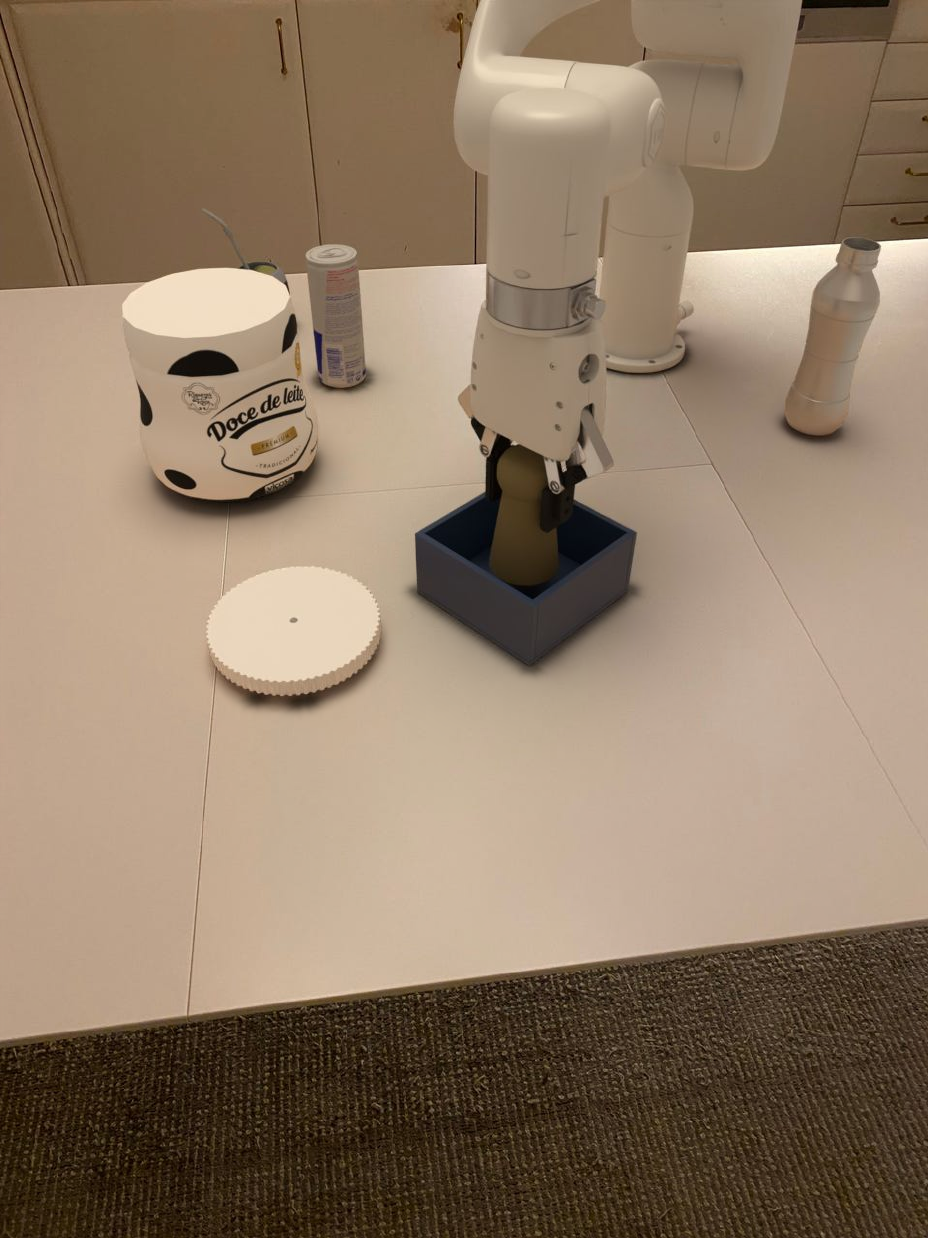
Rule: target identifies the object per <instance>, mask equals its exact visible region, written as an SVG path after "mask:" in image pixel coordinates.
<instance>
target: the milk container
mask: <svg viewBox="0 0 928 1238" xmlns="http://www.w3.org/2000/svg"><path fill="white" fill-rule="evenodd" d="M121 315H122V326H123V332H124V339H125V344H126V348H127V351H128V357H129V361H130V365H131V368H132V372H133V375H134V379H135V382H136V386H137V389H138V394H139V400H140V402H139V403H140V405H139V406H140V407H139V436H140V443H141V446H142V449H143V452H144V455H145V458H146V460H147V462H148V464H149V466H150V468H151V469H152V472H153V473H154V475H155V476H156V477H157V478H158V480H159V481H160V482H161V483H162V484H163V485H165V487H167V488H168V489H169V490H171V491H173V492H175V493H177V494H179V495H181V496H184V497H186V498H190V499H193V500H199V501H207V502H213V503H229V502H246V501H249V500H253V499H256V498H260V497H265V496H268V495H272V494H274V493H276V492H277V491H280V490H282V489H283V488H285V487H287V486H289V485H291V484H293V483H294V482H296V481H297V480H298V479H299V478H301V477H302V475H304V473H305V472H307V470H308V469H309V468H310V467H311V465H312V463H313V460H314V459H315V456H316V454H317V450H318V449H317V448H318V441H319V420H318V414H317V413H318V412H317V408H316V406H315V404H314V401H313V398H312V396H311V394H310V391H309V389H308V387H307V384H306V381H305V379H304V378H305V377H304V374H303V368H302V367H303V366H302V358H301V357H302V356H301V346H300V345H301V344H300V337H299V333H298V324H297V316H296V313H295V309H294V304H293V301H292V298H291V294H290V295H289V293H288V290H287V287H286V285H284V284H283V283H282V282H280V281H279V280H277V279H276V278H274V277H273V276H270V275H266V274H263V273H260V272H256V271H253V270H245V269H238V268H233V267H211V268H209V267H208V268H196V269H191V270H185V271H181V272H180V271H179V272H175V273H170V274H167V275H165V276H162V277H159V278H156V279H152V280H150V281H148V282H146V283H144V284H143V285H141V286H139V287H138V288H136V289H135V290H133V291H131V292H130V293H129V294H128V296H127V297H126V299H125V300H124V301H123V303H122V304H121Z"/></svg>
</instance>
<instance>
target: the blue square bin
mask: <svg viewBox="0 0 928 1238" xmlns="http://www.w3.org/2000/svg"><path fill="white" fill-rule="evenodd" d="M500 501H501V498H499V499H497V500H496V501H493V502H490V501H488V500H487V499H485V491H484V492H481V493H480V494H478V495H477V496H475V497H473V498H472V499H470V500H468V501H467V502H465V503H464V504H462V505H460V506H459V507H457V508H454V509H453V510H452V511H450V512H448V513H447V514H445V515H443V516H442V517H440V518H438V519H437V520H435V521H433V522H431V523H429V524H428V525H427V526H425V527H422V528H421V529H420V530H418V531H416V532H415V533H414V544H415V545H414V548H415V549H414V550H415V570H416V571H415V573H416V593H417V594H419V595H420V596H422V597H424V598H425V599H426V600H428V601H430V602H431V603H433V604H434V605H436V606H437V607H439V608H440V609H441V610H443V611H445V612H446V613H448V614H450V615H451V616H452V617H453V618H455V619H457V620H458V621H460V622H461V623H463V624H465V625H466V626H467V627H468V628H470V629H472V630H473V631H475V632H476V633H478V634H479V635H480V636H483V637H484V638H485V639H487V640H489V641H490V642H491V643H493V644H495V645H496V646H497V647H498V648H500V649H502V650H504V651H505V652H506V653H509V654H510V655H511V656H513V657H514V658H515V659H517V660H519V661H520V662H522V663H523V664H525V665H526V666H528V667H530V666H532V665H533V664H534V663H536V662H537V661H539V660H540V659H541V658H542V657H543V656H545V655H546V654H547V653H549V652H550V651H551V650H553V649H554V648H555V647H557V646H558V645H559V644H560V643H562V642H563V641H564V640H566V639H567V638H569V637H570V636H571V635H572V634H574V633H575V632H577V630H579V629H581V627H583V626H584V625H586V624H587V623H588V622H589V621H591V620H592V619H593V618H595V617H596V616H597V615H598V614H600V613H601V612H602V611H604V610H605V609H607V608H608V607H609V606H610V605H612V604H613V603H615V602H616V601H617V600H618V599H620V598H621V597H623V596H624V595H625V594H626V593H628V592H629V586H630V581H631V575H632V568H633V561H634V555H635V549H636V541H637V536H638V532H637V531H635V530H633V529H632V528H629V527H628V526H626V525H624V524H623V523H620V522H618V521H616V520H614V519H613V518H612V517H611V518H610V517H609V516H607V515H605V514H603V513H601V512H599V511H597V510H595V509H593V508H592V507H590V506H588V505H585V504H584V503H582V502H581V501H578V500H576V499H574V502H573V512H572V515H571V517H570V518H569V519H568V520H567V521H566V522H564V523H562V524H560V525H559V526H557V527H556V531H557V544H558V558H559V569H558V571H557V573H556V574H555V575H554V576H553V577H552V578H551V579H550V580H547V581H545V582H543V583H541V584H535V585H516V584H512V583H508V582H506V581H504V580H502V579H500V578H498V577H497V576H496V575H495V574H494V573H493V572H492V570H491V568H490V566H489V558H490V553H491V548H492V542H493V537H494V532H495V527H496V522H497V516H498V511H499V506H500Z"/></svg>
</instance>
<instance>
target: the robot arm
mask: <svg viewBox="0 0 928 1238" xmlns="http://www.w3.org/2000/svg"><path fill="white" fill-rule="evenodd" d="M600 1H601V0H480V1H479V2H478V5H477V9H476V11H475V15H474V18H473V21H472V25H471V29H470V32H469V33H470V34H469V37H468V41H467V45H466V49H465V52H464V55H463V60H462V65H461V68H460V73H459V78H458V82H457V86H456V93H455V98H454V106H453V120H452V121H453V125H452V126H453V137H454V141H455V145H456V150H457V152H458V155H459V156H460V158H461V159H462V161H463V162H464V163H465V165H467V166H468V167H470V169H472V170H473V171H475V172H476V173H479V174H482V175H484V176H487V207H486V208H487V209H486V211H487V213H486V256H485V257H486V261H485V262H486V263H485V264H486V267H485V300H484V301H482V303H481V305H480V309H479V314H478V317H477V321H476V327H475V332H474V339H473V346H472V355H471V368H470V383H469V385H468V386H466V387H465V388H464V390H462V392H461V393H460V394H459V395H458V396H457V401H458V403H459V405H460V407H461V409H462V410H463V411H464V413H465V414H466V416H467V418H468V419H469V420H470V426H471V428H472V430H473V431H474V433H475V434H476V436H477V438H478V440H479V442H480V443H479V446H478V449H479V452H480V454H481V455H482V456H483V457H484V458H485V483H484V484H485V487H484V492H485V499H487V500H488V501H490V502H493V501H496V500H497V499H499V498H501V496H502V489H501V487H500V485H499V483H498V480H497V464H498V461H499V459H500V457H501V456H502V454H503V453H504V452H505V450H507V449H508V448H510V447H512V446H514V445H515V444H512V443H517V444H520V445H522V446H524V447H526V448H528V449H530V450H533V451H535V452H537V453H539V454H541V455H543V457H544V462H545V467H546V473H547V478H548V484H549V486H547V487H546V488H544V489H543V491H542V501H541V515H540V528H541V530H542V531H544V532H546V533H548V532H550V531H551V530H553V529H554V528H556V527H557V526H559V525H560V524H562V523H564V522H566V521H567V520H568V519H569V518H570V517H571V515H572V512H573V502H574V500H575V492H576V490H575V489H576V485H578V484H580V483H581V482H583V481H586V480H588V479H591V478H594V477H597V476H599V475H602V474H604V473H606V472H607V471H608V470H610V469H612V468H613V467H614V465H615V461H614V458H613V456H612V455H611V452H610V450H609V448H608V446H607V444H606V442H605V440H604V437H603V434H604V430H605V429H604V428H605V418H606V408H607V407H606V404H607V369H609V370H613V371H618V372H623V373H630V374H631V373H632V374H646V373H647V374H648V373H655V372H656V373H657V372H660V371H665V370H668V369H670V368H672V367H674V366H676V365H677V364H679V363H680V362H681V361H682V360H683V358H684V355H685V352H686V343H685V340H684V339H683V338H682V336H681V335H680V334H679V333H678V332H677V329H678V325H679V324H680V323H681V321H682V320H684V319H686V318H688V317H690V316H693V313H694V310H695V307H694V305H693V303H692V301H689V300H684V301H681V302H680V300H681V296H682V295H681V294H682V289H683V281H684V276H685V269H686V263H687V257H688V251H689V245H690V238H691V232H692V225H693V220H694V215H695V214H694V213H695V206H694V205H695V203H694V199H693V193H692V191H691V188H690V186H689V184H688V182H687V179H686V178H685V175H684V174H683V172H682V170H681V169H680V167H696V168H706V169H717V170H724V171H725V170H726V171H740V172H741V171H744V172H745V171H751V170H754V169H756V168H758V167H760V166H761V165H763V164H764V163H765V162H766V160H767V159H768V157H769V156H770V154H771V152H772V151H773V147H774V145H775V142H776V139H777V135H778V132H779V127H780V122H781V118H782V113H783V107H784V102H785V97H786V92H787V86H788V81H789V77H790V72H791V71H790V70H791V65H792V61H793V60H792V59H793V54H794V50H795V44H796V39H797V33H798V27H799V23H800V17H801V12H802V11H801V10H802V4H803V0H630V21H631V23H630V24H631V29H632V33H633V36H634V38H635V40H636V41H637V43H638V44H639V45H640V46H642V47H644V48H645V49H648V50H651V51H655V52H659V53H664V54H672V55H682V56H693V57H707V58H719V59H721V58H722V59H731V60H735V61H737V63H738V64H739V65H735V64H724V63H723V64H722V63H710V62H705V61H695V60H694V61H693V60H682V59H680V60H679V59H666V58H653V59H647V60H640V61H638V62H634V63H633V64H631V65H629V66H623V65H615V64H605V63H604V64H603V63H592V62H580V61H579V60H578V61H576V60H567V59H565V60H564V59H553V58H552V59H551V58H540V57H530V56H529V57H528V56H521V55H522V53H523V52H524V50H525V49H526V48H527V47H528V45H529V43H530V42H531V41H532V40H533V39H534V38H535V37H537V35H538V34H539V33H540V32H541V31H543V30H544V29H545V28H546V27H547V28H548V26H549V25H550V24H552V23H554V22H556V21H557V20H559V19H560V18H563V17H564V16H566V15H568V14H570V13H573V12H575V11H577V10H580V9H582V8H584V7H587V6H590V5H592V4H594V3H598V2H600ZM607 197H608V204H607V205H608V207H607V217H606V226H605V237H604V246H603V255H602V265H601V276H600V286H599V295H597V294H596V291H597V290H596V289H597V276H598V275H597V274H598V265H599V255H600V245H601V236H602V235H601V234H602V226H603V225H602V223H603V213H604V212H603V211H604V200H605V198H607ZM580 448H581V450H582V453H583V455H584V457H585V459H584V460H583V461H582V458H581V451H580ZM562 462H564V463H565V464H564V465H565V468H566V470H564V471H563V465H562Z"/></svg>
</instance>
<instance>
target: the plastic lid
mask: <svg viewBox="0 0 928 1238" xmlns="http://www.w3.org/2000/svg"><path fill="white" fill-rule="evenodd" d="M220 598H221V599H219V600H217V602H216V604H214V606H213V609H211V611H210V614H209V615H208V619H207V620H206V625H205V628H206V630H205V634H206V635H205V638H206V643H207V647H208V650H209V655H210V658H211V660H212V662H213V664H214V667H216V668H217V671H218V672H220V674H221V675H222V676H225V679H226V680H230V683H232V684H235V685H236V686H237V687H242V689H244V690H247V689H249V692H254V691H255V692H256V693H257V694H261V693H263V695H266V696H267V695H271V696H277V695H279V696H280V697H284V696H285V695H286V696H288V697H292V696H293V695H296V696H300V695H301V694H304V695H308V694H309V693H312V694H313V693H317V691H324V690H325V688H328V689H331V688H332V687H333V685H335V686H336V685H339V684H340V682H342V683H343V682H345V681H346V679H347V678H349V679H350V678H351V677H352V676H353V674H355V675H356V674H358V671H359V670H362V669H363V668H364V665H367V664H368V660H369V661H370V660H371V659H372V656H373V655H374V654H375V653H376V650H378V645H379V644H380V640H381V634H382V623H381V612H380V608H379V603H378V602H377V599H376V597H375V596H374V593H372V591H371V589H368V586H367V585H364V583H363V582H361V581H360V582H359V580H358V579H357V578H354V577H353V576H352V575H348V573H345V572H344V573H342V571H341V570H338V571H336V569H334V568H333V569H330V568H329V567H325V568H323V567H322V566H318V567H316V566H315V565H311V566H308V565H304V566H301V565H297V566H293V565H291V566H289V567H286V566H284V567H282V568H275V569H274V570H273V569H269V570H268V571H267V572H265V571H263V572H261V574H258V573H257V574H255V575H254V576H253V577H252V576H250V577H248V579H247V580H242V581H241V583H237V584H236V585H235V586H234V587H231V588H230V590H229V591H226V592H225V595H222V596H221V597H220Z"/></svg>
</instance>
